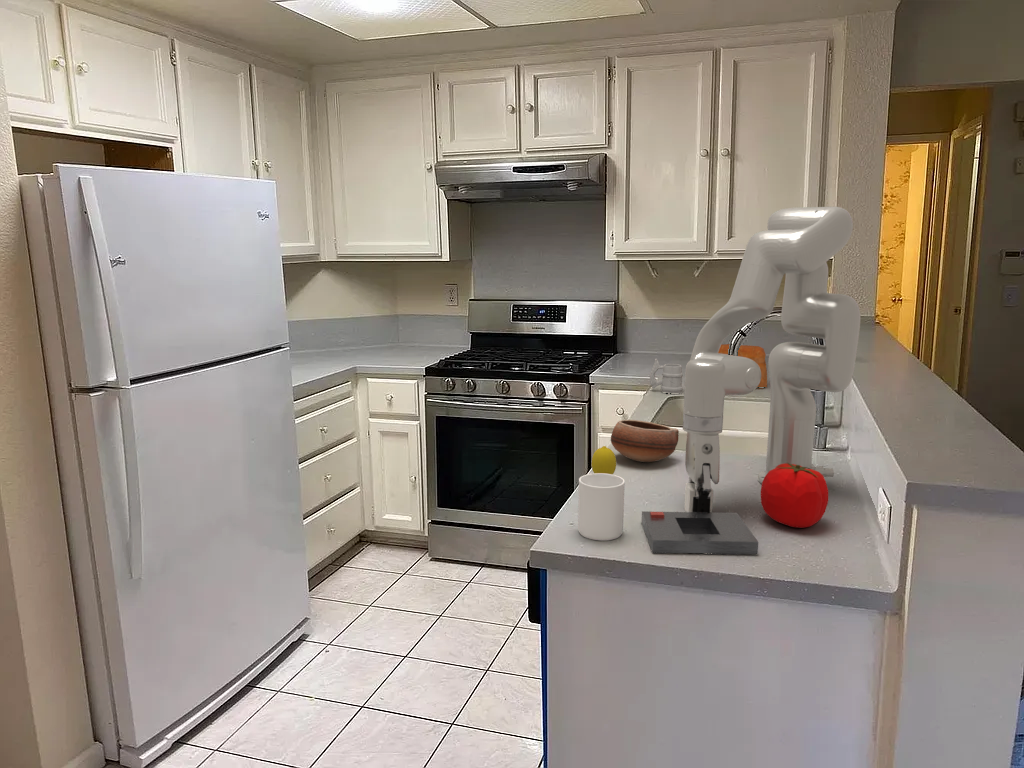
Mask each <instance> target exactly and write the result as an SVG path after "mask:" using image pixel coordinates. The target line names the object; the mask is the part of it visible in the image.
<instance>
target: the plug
mask: <svg viewBox="0 0 1024 768" xmlns="http://www.w3.org/2000/svg"><path fill="white" fill-rule="evenodd" d="M698 480H699V482H703V479H698ZM700 488H702V486H701V485H699V489H700ZM693 497H695V483H689V482H685V489H684V508H683V509H684V512H693ZM713 502H714V489H713V488H712V487H711V496H710V512H713V505H714V504H713Z"/></svg>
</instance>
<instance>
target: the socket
mask: <svg viewBox="0 0 1024 768" xmlns="http://www.w3.org/2000/svg"><path fill="white" fill-rule="evenodd" d="M641 526H642V529H643V532H644V534H645V537H646V540H647V541H648V545H649V547H650V551H651V550H652V551H651V553H652V554H667V553H707V554H706V555H726V554H758V553H759V540H758V539H757V538H756V537H755V535H754V534H753V532H752V531H751V530H750V528H749V527H748V525H747V524H746V523H745V521H744V520H743V518H742V517H741V516H740V514H738V512H713V511H712V512H686V511H641ZM708 553H710V554H708ZM711 553H712V554H711Z"/></svg>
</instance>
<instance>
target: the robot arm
mask: <svg viewBox="0 0 1024 768" xmlns="http://www.w3.org/2000/svg"><path fill="white" fill-rule="evenodd" d="M853 228H854V222H853V218H852V216H851V213H850V212H849V211H848V210H847V209H846V208H843V207H840V206H813V207H812V206H807V207H806V206H805V207H800V206H799V207H798V206H797V207H789V208H788V207H786V208H781V209H778V210H776V211H774V212H773V213H771V214H770V216H769V217H768V220H767V230H762V231H758V232H756V233H754V234H752V236H750V238H749V240H748V242H747V244H746V247H745V250H744V253H743V256H742V260H741V262H740V265H739V266H740V267H739V268H738V272H737V275H736V279H735V282H734V286H733V288H732V291H731V295H730V298H729V300H728V301H727V302H726V304H724V305H723V306H722V307H720V309H718V310H717V311H716V312H715V313H714V314H713V315H712V316H711V317H710V318H709V320H707V322H705V324H704V325H703V326H702V328H701V329H700V331H699V332H698V335H697V337H696V339H695V342H694V346H693V349H692V351H691V356H690V358H689V360H688V362H687V363H686V365H685V371H684V372H685V374H684V389H683V390H684V391H683V392H684V393H683V411H682V412H683V414H682V430H683V431H684V432H686V442H685V461H684V463H685V465H684V466H685V470H686V473H687V475H688V483H695V497H693V512H710V496H711V488H712V485H711V484H712V483H711V482H713V483H714V485H718V484H719V482H720V469H721V467H720V465H721V464H720V461H721V460H720V457H721V456H720V455H721V454H720V453H721V452H720V451H721V450H720V448H721V447H720V435H719V434H721V433H722V432H723V429H724V428H723V427H724V426H723V425H724V411H725V410H724V409H725V397H726V396H744V395H748V394H750V393H752V392H753V391H755V390H756V389H758V388H757V386H758V385H759V383H760V381H761V370H760V367H759V366H758V364H757V363H756V362H755V361H753V360H751V359H749V358H746V357H740V356H733V355H728V354H721V353H718V352H719V349H720V347H721V345H722V344H723V342H724V341H725V340H726V338H728V337H729V335H731V334H732V333H733V332H734V331H736V330H738V329H739V328H741V327H744V326H746V325H748V324H751V323H753V322H756V321H759V320H761V319H764V318H767V316H769V315H770V314H771V313H772V312H773V310H774V307H775V304H776V301H777V296H778V293H779V290H780V287H781V284H782V281H783V278H784V275H785V281H784V288H783V298H782V304H781V305H782V306H781V315H780V317H781V318H780V320H781V322H780V323H781V327H782V329H783V331H785V332H786V333H787V334H790V335H793V336H798V337H806V338H814V339H815V338H816V339H823V340H824V339H825V345H824V344H822V345H821V344H816V343H810V342H809V343H808V342H801V341H786V342H782V343H779V344H777V345H776V346H775V347H773V349H772V350H770V353H769V356H768V362H767V368H768V369H767V371H768V376H769V383H770V384H769V385H770V386H769V387H770V401H769V416H768V418H769V419H768V432H767V446H766V447H767V449H766V461H765V470H763V471H760V472H759V473H758V475H757V480H758V482H759V483H760V484H762V482H763V480H764V478H765V476H766V475H767V473H768V472H769V471H770V470H773V469H775V468H776V467H777V466H778V465H780V464H784V463H786V462H787V464H788V463H789V464H795V465H800V466H802V467H807V468H805V469H808V468H810V469H812V470H815V471H818V472H820V473H821V474H822V475H823V476H824V478H833V477H834V475H835V470H834V469H833V468H831V467H829V468H824V466H823V465H822V466H821V465H820V466H819V465H818V466H817V465H815V464H814V463H813V451H814V443H815V442H814V438H815V429H816V428H815V427H816V417H817V405H816V401H815V397H814V396H813V393H812V391H811V390H816V391H820V392H828V393H841V392H843V391H845V390H846V389H848V387H849V386H850V384H851V382H852V380H853V376H854V372H855V366H856V359H857V352H858V344H859V337H860V330H861V311H860V310H861V309H860V307H859V304H858V302H857V301H856V300H855V299H854V298H853V297H852V296H850V295H848V294H843V293H828V282H829V281H828V280H829V279H828V278H829V266H828V263H827V262H828V261H829V260H830V259H832V258H833V257H834V256H835V255H836V254H837V253H839V252H840V251H841V250H842V249H843V248H844V247H845V246H846V245H847V243H848V242H849V240H850V239H851V237H852V233H853ZM773 466H775V467H773ZM698 479H703V482H699V480H698ZM699 485H701V486H702V488H700V489H699Z"/></svg>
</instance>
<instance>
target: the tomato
mask: <svg viewBox="0 0 1024 768" xmlns="http://www.w3.org/2000/svg"><path fill="white" fill-rule="evenodd" d="M773 467H775V466H773ZM805 468H807V467H802V466H800V465H795V464H789V463H788V464H787V462H786V463H784V464H780V465H778V466H777V467H776V468H775V469H773V470H770V471H769V472H768V473H767V475H766V476H765V478H764V480H763V482H762V483H761V488H760V503H761V506H762V509H763V511H764V513H765V514H766V515H767V516H768V517H770V518H771V519H772V520H773V521H776V522H778V523H779V524H782V525H786V526H789V527H791V528H803V529H804V528H809V527H812V526H814V525H815V524H816V523H818V522H819V521H821V519H822V518H823V517H824V515H825V512H826V510H827V506H828V503H829V487H828V485H827V481H826V479H825V478H826V477H824V476H823V475H822V474H821V473H820V472H818V471H815V470H812V469H810V468H808V469H805Z"/></svg>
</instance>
